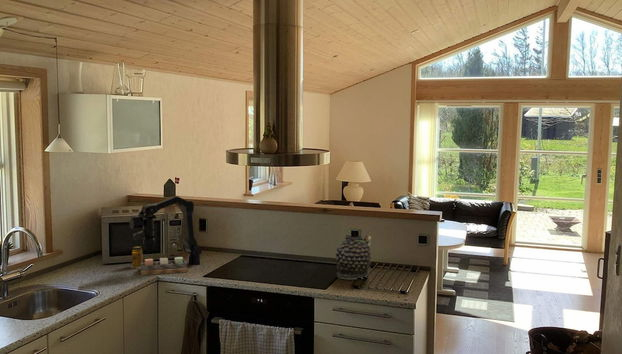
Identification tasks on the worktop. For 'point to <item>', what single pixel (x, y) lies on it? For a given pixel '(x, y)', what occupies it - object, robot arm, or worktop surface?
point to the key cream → (163, 261)
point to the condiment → (137, 257)
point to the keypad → (163, 268)
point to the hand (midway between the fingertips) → (148, 253)
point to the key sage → (178, 260)
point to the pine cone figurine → (353, 257)
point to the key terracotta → (148, 262)
